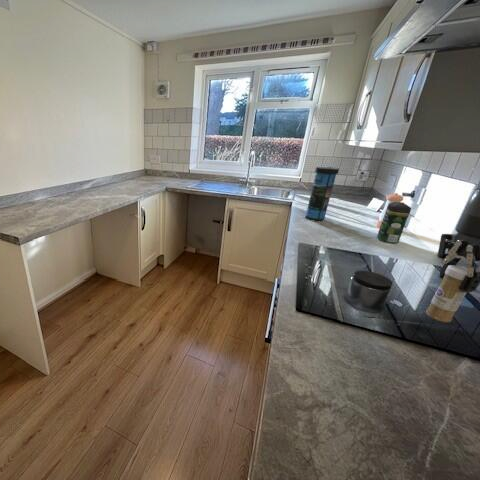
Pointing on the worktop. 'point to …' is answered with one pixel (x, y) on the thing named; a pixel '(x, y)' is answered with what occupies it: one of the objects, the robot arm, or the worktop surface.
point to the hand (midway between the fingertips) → (454, 284)
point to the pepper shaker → (389, 199)
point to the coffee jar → (393, 222)
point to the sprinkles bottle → (448, 294)
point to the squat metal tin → (368, 291)
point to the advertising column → (321, 193)
